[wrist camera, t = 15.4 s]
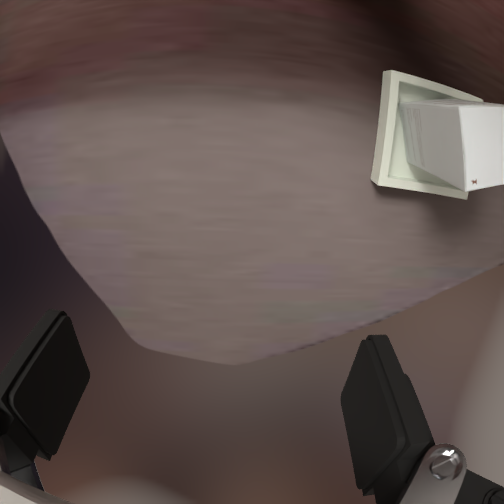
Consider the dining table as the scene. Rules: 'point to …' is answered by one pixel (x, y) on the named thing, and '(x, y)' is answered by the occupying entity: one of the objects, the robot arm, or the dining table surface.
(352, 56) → the dining table surface
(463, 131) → the supplement box
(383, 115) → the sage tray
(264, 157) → the dining table surface
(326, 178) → the dining table surface
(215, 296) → the dining table surface
